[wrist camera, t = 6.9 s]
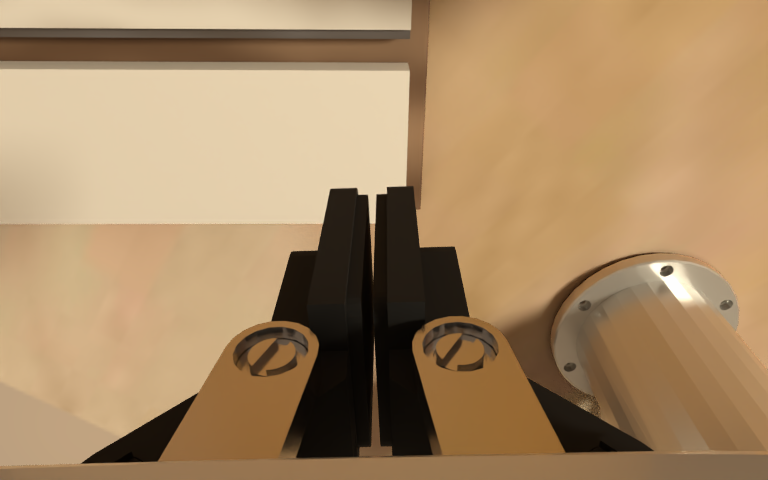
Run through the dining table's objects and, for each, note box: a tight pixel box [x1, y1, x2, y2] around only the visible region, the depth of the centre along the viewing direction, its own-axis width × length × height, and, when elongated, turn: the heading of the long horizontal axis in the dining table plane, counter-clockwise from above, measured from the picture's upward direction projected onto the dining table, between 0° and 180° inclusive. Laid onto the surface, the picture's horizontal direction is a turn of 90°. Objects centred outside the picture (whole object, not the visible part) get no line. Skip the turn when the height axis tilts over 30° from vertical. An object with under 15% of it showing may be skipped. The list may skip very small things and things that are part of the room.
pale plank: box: [0, 61, 410, 224], centre depth 31 cm, size 9×24×2 cm, turn 90°
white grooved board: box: [0, 0, 430, 209], centre depth 29 cm, size 17×26×3 cm, turn 90°
